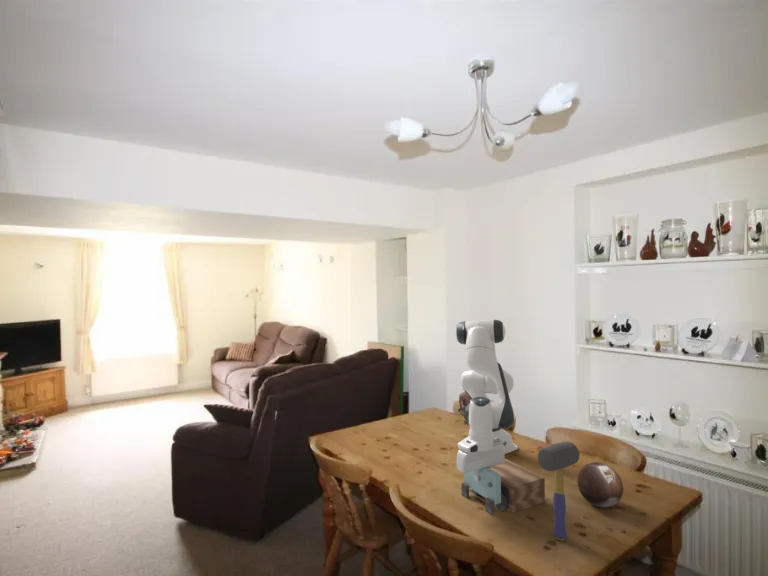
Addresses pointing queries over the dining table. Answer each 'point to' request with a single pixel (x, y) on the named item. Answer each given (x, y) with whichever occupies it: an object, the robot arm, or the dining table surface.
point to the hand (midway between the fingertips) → (481, 479)
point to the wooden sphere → (600, 484)
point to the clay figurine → (464, 403)
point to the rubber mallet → (558, 479)
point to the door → (485, 484)
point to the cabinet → (514, 488)
